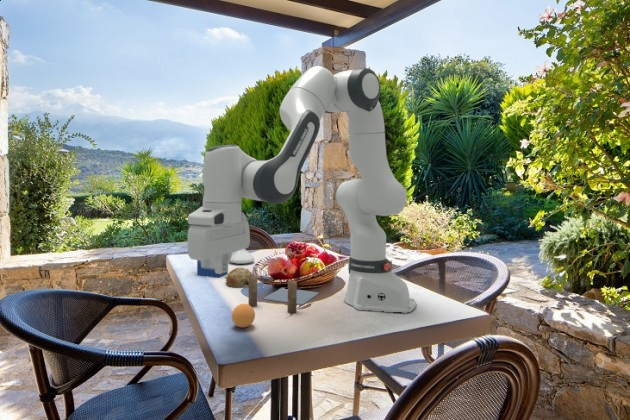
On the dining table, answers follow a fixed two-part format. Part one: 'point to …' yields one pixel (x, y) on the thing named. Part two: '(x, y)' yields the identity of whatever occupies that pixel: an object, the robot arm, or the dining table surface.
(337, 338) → the dining table surface
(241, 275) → the bread roll
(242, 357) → the dining table surface
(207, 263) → the milk carton
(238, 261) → the flower in vase
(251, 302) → the post far
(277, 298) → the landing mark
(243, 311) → the ball
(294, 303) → the post near
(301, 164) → the robot arm
